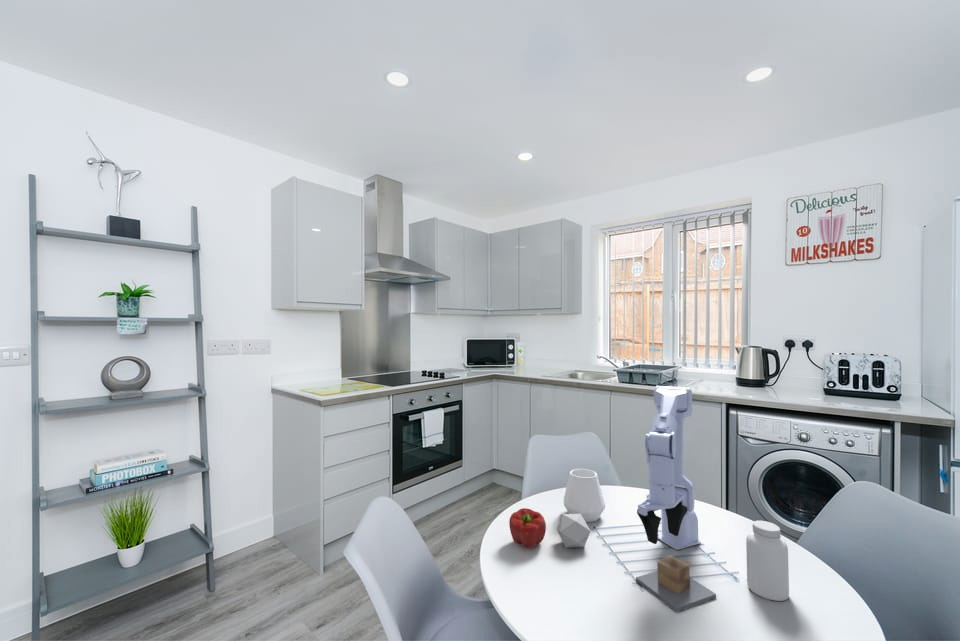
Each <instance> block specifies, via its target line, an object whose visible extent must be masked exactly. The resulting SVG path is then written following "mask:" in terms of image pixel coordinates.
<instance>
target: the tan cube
mask: <svg viewBox="0 0 960 641" xmlns="http://www.w3.org/2000/svg"><path fill="white" fill-rule="evenodd" d="M690 567H691V566H690V564H689V563H686V562H684V561H682V560H681V559H678V558H676V557H675V556H672V555H670V554H669V555H666V556H665V557H663V558H662V559H660V560H658V561H657V571H658V584H660V585H662V586H664V587H666V588H667V589H669V590H671V591H673V592H675V593H676V594H680V593H681V592H683V591H684V590H686V589H687V588H689V587H690V577H691V570H690Z"/></svg>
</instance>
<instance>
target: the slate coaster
mask: <svg viewBox="0 0 960 641" xmlns="http://www.w3.org/2000/svg"><path fill="white" fill-rule="evenodd" d="M635 581H636V582H637V583H638V584H640V586H642V587H644V588H645V589H646V590H648V591H649V592H650V593H651V594H653V595H654V596H655V597H656V598H658V599H659V600H660V601H662V602H663V603H665V604H666V605H667V606H668V607H670V608H671V609H672V610H674V611H675V612H676V613H679V612H681V611H683V610H686V609H688V608H692V607H694V606H697V605H700V604H703V603H705V602H709V601H710V600H713V599H716V598H717V593H716V592H714V591H712V590H710V588H707V587H706V586H705V585H703V584H702V583H700V582H699V581H697V580H695V579H694V578H692V577H691V576H690V587H689V588H687V589H686V590H684V591H683V592H681V593H680V594H676V593H675V592H673V591H671V590H669V589H667V588H666V587H664V586H662V585H660V584H658V570H656V571H652V572H648V573H646V574H641V575H639V576H636V577H635Z"/></svg>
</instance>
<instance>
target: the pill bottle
mask: <svg viewBox="0 0 960 641" xmlns="http://www.w3.org/2000/svg"><path fill="white" fill-rule="evenodd" d="M745 541H746V543H745V545H746V547H745V548H746V582H747V583H746V584H747V586H748V588H749V590H751V592H753V593H754V594H756V595H758V596H760V597H762V598H764V599H767V600H770V601H774V602H775V601H776V602H782V601H786V600H788V599H789V596H790V577H789V572H790V571H789V570H790V569H789V547H788V545H787V543H786V542H785V540H784V539H782V538H781V528H780V527H779V525H777V524H775V523H773V522H769V521H765V520H754V521H752V531H751V532H749V533H748V534H747V535H746V538H745Z"/></svg>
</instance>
